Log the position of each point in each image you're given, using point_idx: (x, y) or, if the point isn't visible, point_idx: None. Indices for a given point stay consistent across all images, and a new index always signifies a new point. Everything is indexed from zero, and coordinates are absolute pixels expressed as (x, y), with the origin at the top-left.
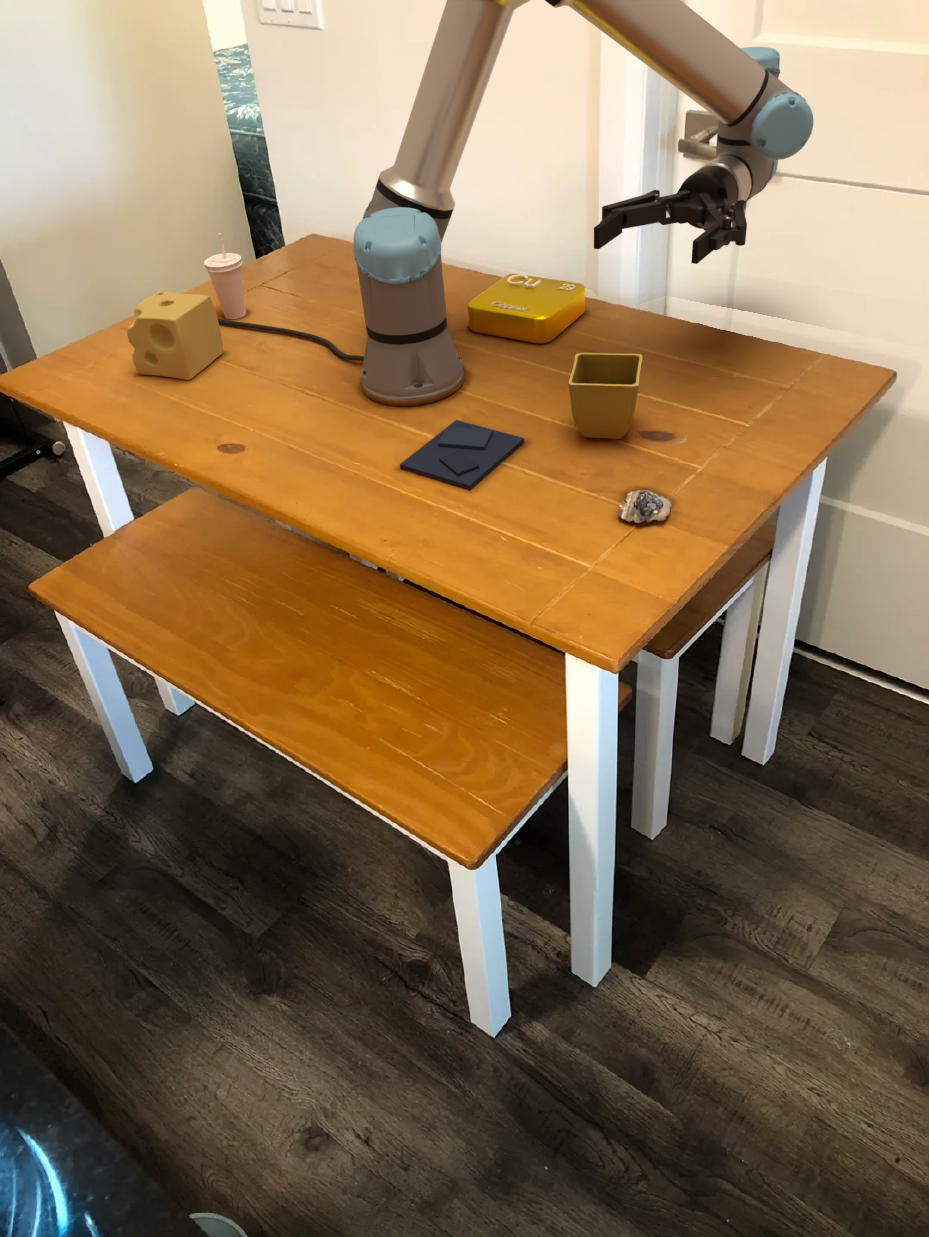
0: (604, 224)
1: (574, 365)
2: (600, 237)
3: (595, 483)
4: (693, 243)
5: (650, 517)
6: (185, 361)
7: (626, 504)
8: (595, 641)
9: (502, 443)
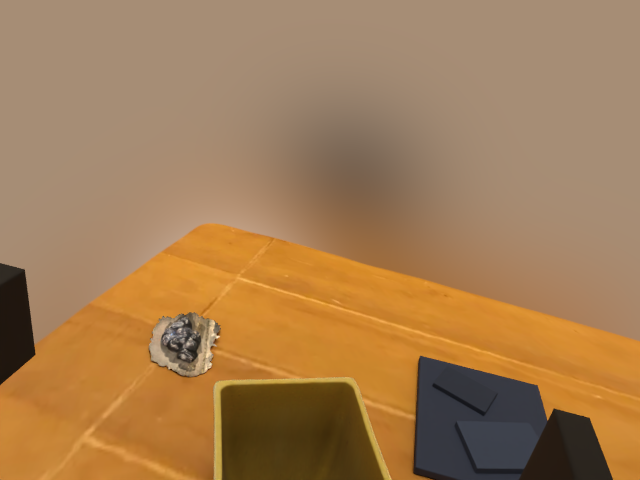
0: (572, 466)
1: (375, 443)
2: (538, 467)
3: None
4: (21, 278)
5: (178, 318)
6: None
7: (210, 342)
8: (221, 228)
9: (440, 446)
